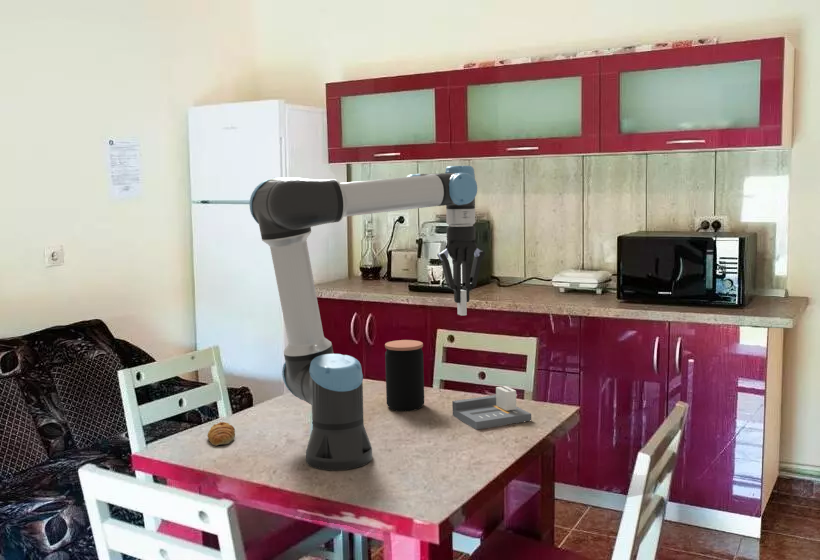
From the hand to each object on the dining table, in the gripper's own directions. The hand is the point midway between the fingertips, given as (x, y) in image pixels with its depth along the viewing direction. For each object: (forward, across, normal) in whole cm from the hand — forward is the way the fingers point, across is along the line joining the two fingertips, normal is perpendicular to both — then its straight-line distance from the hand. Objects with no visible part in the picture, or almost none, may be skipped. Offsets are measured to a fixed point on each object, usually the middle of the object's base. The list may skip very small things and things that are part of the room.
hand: (462, 314), depth 216 cm
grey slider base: (+27, +6, -5) cm, 28 cm away
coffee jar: (+28, -11, +15) cm, 33 cm away
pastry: (+28, -63, +7) cm, 69 cm away
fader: (+25, +10, -5) cm, 27 cm away
